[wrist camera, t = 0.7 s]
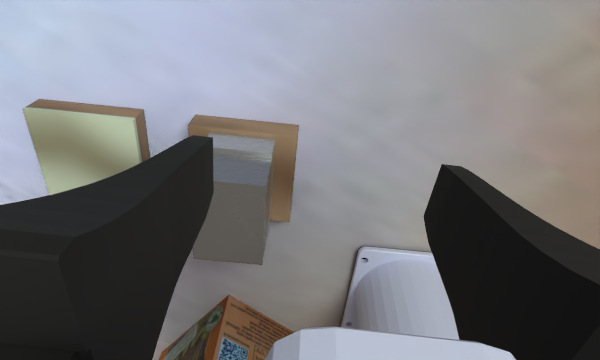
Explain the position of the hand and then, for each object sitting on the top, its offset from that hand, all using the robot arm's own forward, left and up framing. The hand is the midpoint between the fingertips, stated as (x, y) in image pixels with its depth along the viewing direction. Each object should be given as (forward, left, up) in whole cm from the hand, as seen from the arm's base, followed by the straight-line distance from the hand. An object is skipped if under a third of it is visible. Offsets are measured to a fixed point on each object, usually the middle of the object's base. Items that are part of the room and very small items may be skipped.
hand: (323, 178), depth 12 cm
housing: (-6, +4, -9) cm, 11 cm away
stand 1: (-6, +13, -10) cm, 18 cm away
